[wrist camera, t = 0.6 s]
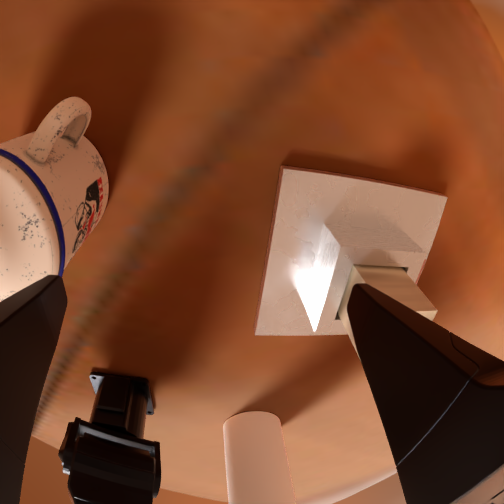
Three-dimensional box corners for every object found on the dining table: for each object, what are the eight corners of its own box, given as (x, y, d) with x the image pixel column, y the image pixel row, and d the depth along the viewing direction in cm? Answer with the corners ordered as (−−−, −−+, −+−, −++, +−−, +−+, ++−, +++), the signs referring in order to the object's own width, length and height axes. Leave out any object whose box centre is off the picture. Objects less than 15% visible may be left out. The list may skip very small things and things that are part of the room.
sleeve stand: (391, 325, 29) (410, 356, 25) (253, 327, 27) (260, 365, 23) (440, 193, 23) (473, 214, 19) (280, 165, 21) (296, 184, 17)
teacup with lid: (79, 261, 23) (17, 371, 12) (-2, 199, 19) (-94, 276, 9) (163, 134, 19) (104, 186, 9) (64, 64, 16) (-55, 62, 5)
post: (369, 290, 25) (412, 358, 18) (325, 290, 25) (360, 363, 18) (384, 247, 23) (438, 309, 16) (338, 243, 23) (384, 311, 16)
